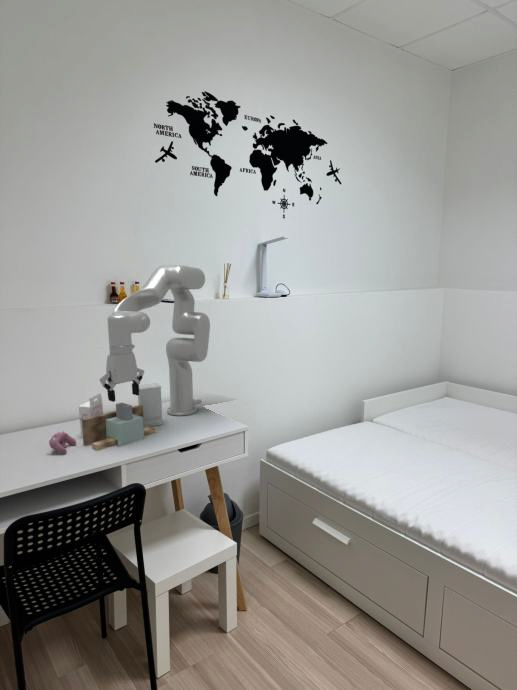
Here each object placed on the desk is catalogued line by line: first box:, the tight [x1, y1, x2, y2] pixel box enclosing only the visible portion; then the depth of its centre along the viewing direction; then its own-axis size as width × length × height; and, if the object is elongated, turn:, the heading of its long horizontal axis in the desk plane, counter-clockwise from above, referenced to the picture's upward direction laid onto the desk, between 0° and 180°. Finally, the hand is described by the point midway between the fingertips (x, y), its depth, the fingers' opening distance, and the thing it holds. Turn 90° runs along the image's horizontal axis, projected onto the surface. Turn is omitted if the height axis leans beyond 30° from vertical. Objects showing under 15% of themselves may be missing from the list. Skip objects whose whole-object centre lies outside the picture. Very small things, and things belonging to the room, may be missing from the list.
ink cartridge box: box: [78, 392, 104, 438], centre depth 183 cm, size 9×5×15 cm, turn 168°
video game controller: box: [48, 431, 77, 455], centre depth 168 cm, size 10×5×7 cm, turn 179°
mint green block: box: [106, 402, 145, 447], centre depth 176 cm, size 10×8×13 cm
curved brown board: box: [82, 405, 156, 451], centre depth 178 cm, size 24×9×9 cm, turn 138°
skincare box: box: [137, 382, 164, 428], centre depth 194 cm, size 8×7×16 cm
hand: (124, 397), depth 175 cm, fingers open, 9 cm apart
